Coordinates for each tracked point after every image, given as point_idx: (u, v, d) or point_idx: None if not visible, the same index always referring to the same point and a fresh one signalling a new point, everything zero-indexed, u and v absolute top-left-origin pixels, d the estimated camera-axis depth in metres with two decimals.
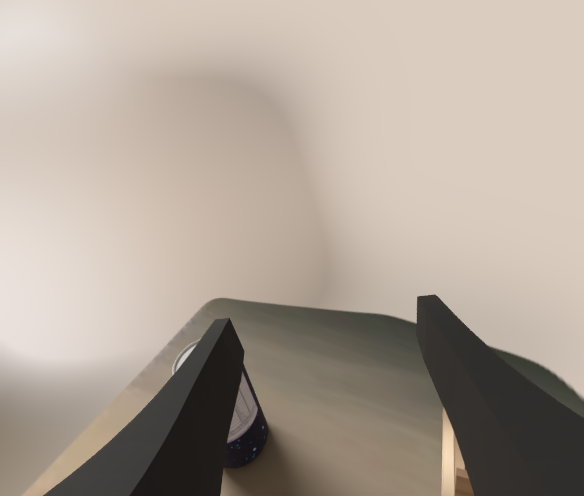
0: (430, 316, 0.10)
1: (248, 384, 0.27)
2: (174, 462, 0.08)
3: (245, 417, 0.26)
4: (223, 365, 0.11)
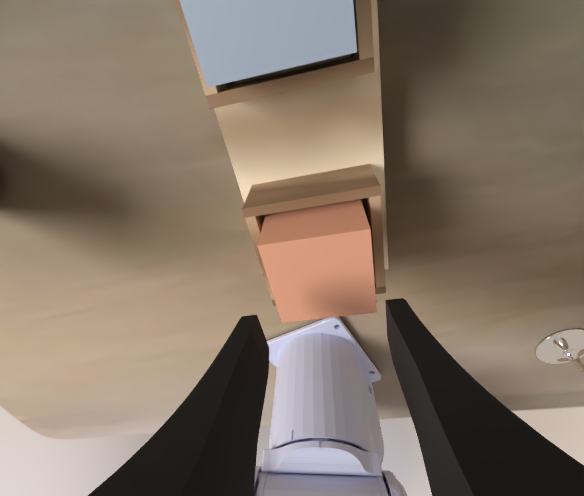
0: (394, 320, 0.10)
1: None
2: (215, 461, 0.07)
3: None
4: (253, 362, 0.11)
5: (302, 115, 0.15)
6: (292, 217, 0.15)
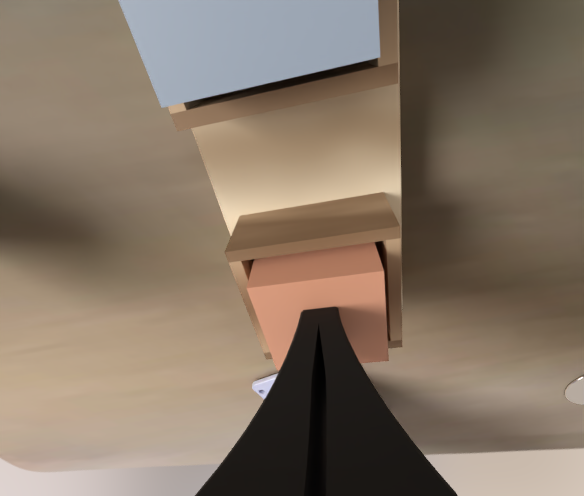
0: (319, 328, 0.10)
1: None
2: (314, 457, 0.07)
3: None
4: (321, 356, 0.10)
5: (300, 134, 0.12)
6: None
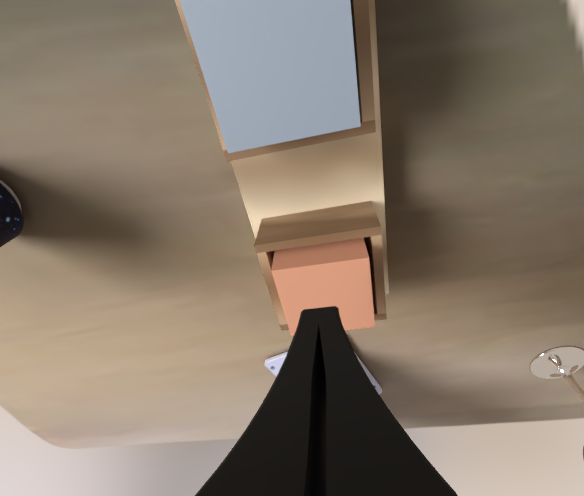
0: (319, 328, 0.10)
1: None
2: (314, 457, 0.07)
3: None
4: (321, 356, 0.10)
5: (309, 159, 0.16)
6: None
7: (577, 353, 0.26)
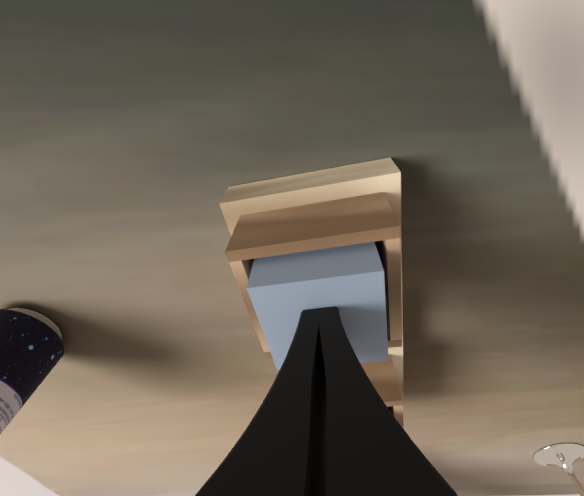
0: (319, 328, 0.10)
1: None
2: (314, 457, 0.07)
3: None
4: (321, 356, 0.10)
5: None
6: None
7: (578, 449, 0.28)
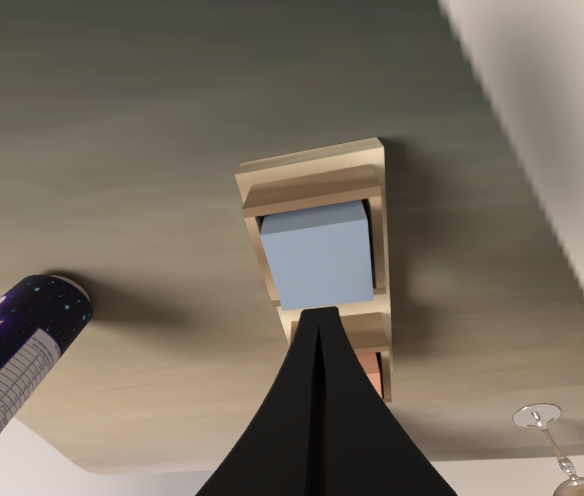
0: (319, 327, 0.10)
1: None
2: (314, 457, 0.07)
3: (43, 361, 0.20)
4: (321, 356, 0.10)
5: None
6: None
7: (552, 409, 0.31)
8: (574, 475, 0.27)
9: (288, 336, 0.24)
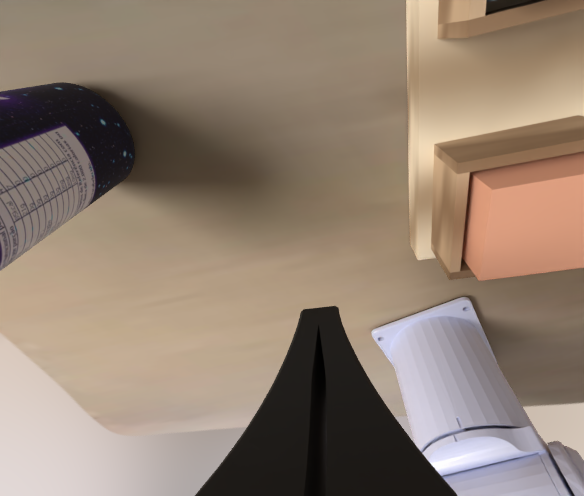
0: (319, 327, 0.10)
1: None
2: (314, 457, 0.07)
3: (72, 174, 0.13)
4: (321, 356, 0.10)
5: (519, 57, 0.13)
6: None
7: None
8: None
9: (422, 176, 0.16)
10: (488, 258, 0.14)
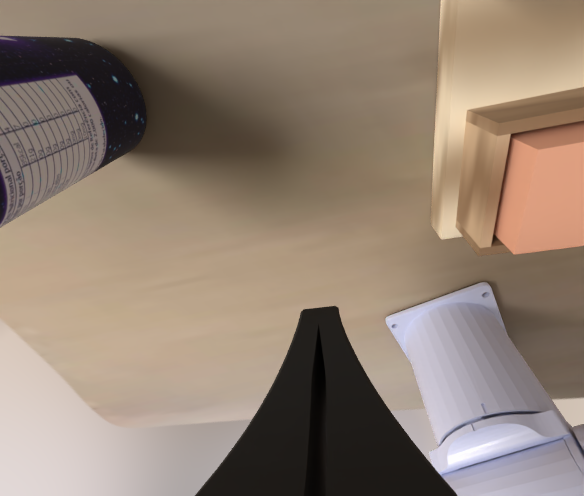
0: (319, 327, 0.10)
1: (5, 80, 0.09)
2: (314, 457, 0.07)
3: (83, 127, 0.12)
4: (321, 356, 0.10)
5: (564, 13, 0.12)
6: (544, 128, 0.13)
7: None
8: None
9: (451, 146, 0.16)
10: (526, 229, 0.13)
